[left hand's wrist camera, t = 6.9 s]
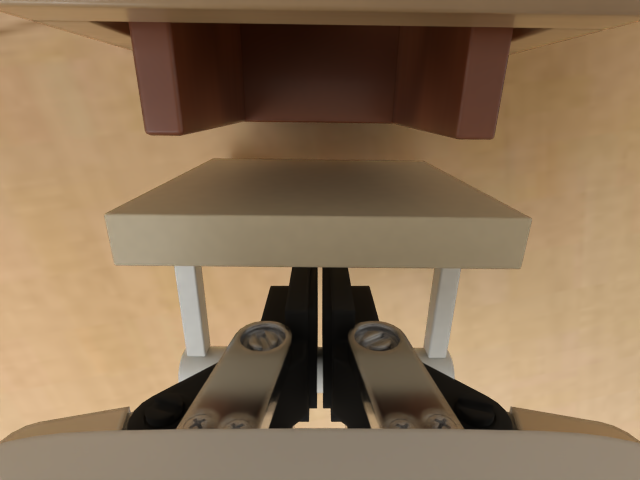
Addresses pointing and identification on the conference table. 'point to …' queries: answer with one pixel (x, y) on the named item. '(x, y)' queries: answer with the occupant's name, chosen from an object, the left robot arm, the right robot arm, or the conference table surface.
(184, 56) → the drawer
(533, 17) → the cabinet
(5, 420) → the conference table surface
